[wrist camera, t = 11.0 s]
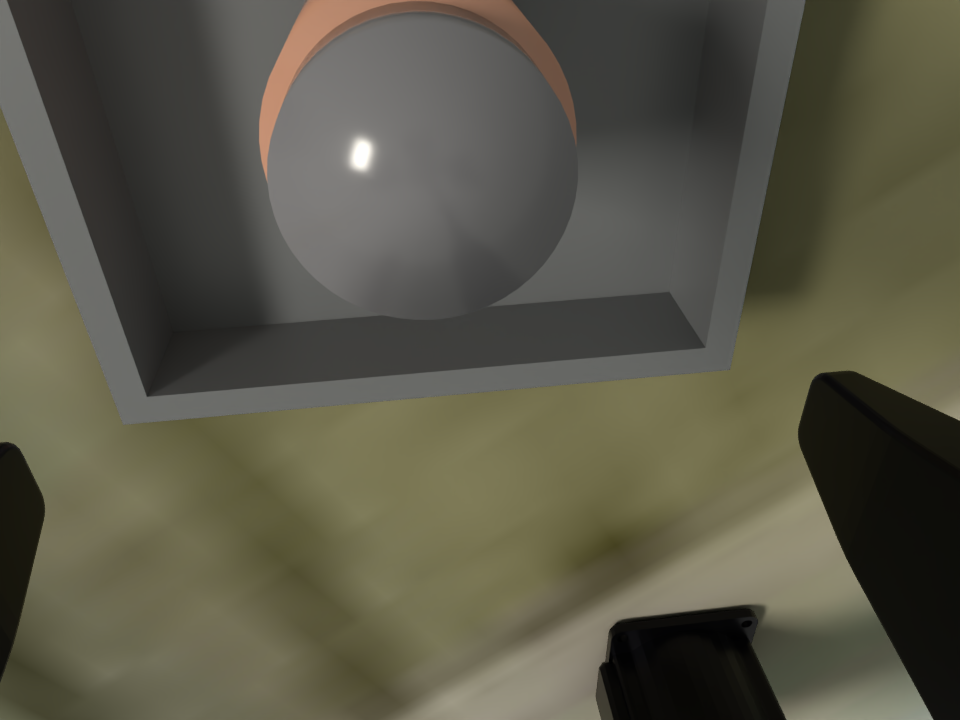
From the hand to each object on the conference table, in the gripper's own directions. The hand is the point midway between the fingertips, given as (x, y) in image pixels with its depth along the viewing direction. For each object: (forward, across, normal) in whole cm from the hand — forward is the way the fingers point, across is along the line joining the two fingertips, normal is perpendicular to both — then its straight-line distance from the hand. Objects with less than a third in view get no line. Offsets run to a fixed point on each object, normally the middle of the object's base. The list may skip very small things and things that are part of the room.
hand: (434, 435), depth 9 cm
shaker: (+12, 0, -2) cm, 12 cm away
